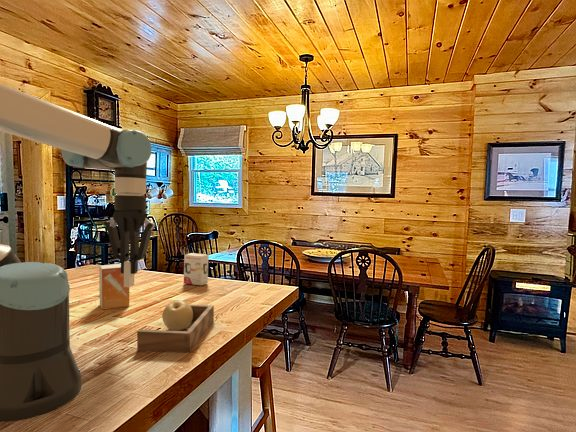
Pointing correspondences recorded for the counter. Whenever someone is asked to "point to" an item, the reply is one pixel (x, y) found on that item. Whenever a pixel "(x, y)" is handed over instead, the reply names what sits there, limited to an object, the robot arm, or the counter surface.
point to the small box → (112, 287)
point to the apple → (177, 315)
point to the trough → (178, 333)
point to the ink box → (196, 269)
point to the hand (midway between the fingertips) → (129, 285)
